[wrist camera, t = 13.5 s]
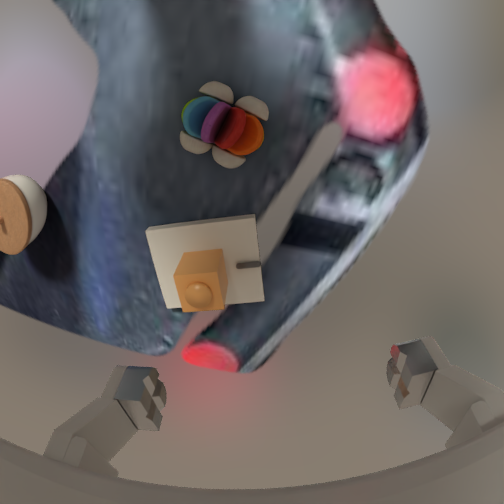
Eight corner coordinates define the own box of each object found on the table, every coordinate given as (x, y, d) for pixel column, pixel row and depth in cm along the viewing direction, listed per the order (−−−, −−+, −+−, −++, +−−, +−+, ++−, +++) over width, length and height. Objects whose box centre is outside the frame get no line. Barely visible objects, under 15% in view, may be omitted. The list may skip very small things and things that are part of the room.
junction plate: (148, 226, 38) (134, 243, 33) (255, 213, 38) (256, 229, 33) (169, 302, 43) (160, 325, 38) (264, 295, 43) (266, 318, 38)
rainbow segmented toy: (246, 172, 35) (244, 185, 29) (173, 140, 34) (155, 146, 27) (278, 110, 32) (284, 108, 26) (203, 77, 30) (191, 67, 24)
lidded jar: (25, 240, 39) (-9, 266, 31) (4, 181, 35) (-35, 199, 26) (68, 223, 38) (32, 251, 30) (45, 156, 34) (3, 171, 25)
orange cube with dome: (183, 252, 38) (171, 279, 32) (222, 248, 38) (216, 275, 32) (191, 285, 40) (181, 316, 34) (228, 282, 40) (223, 313, 34)
